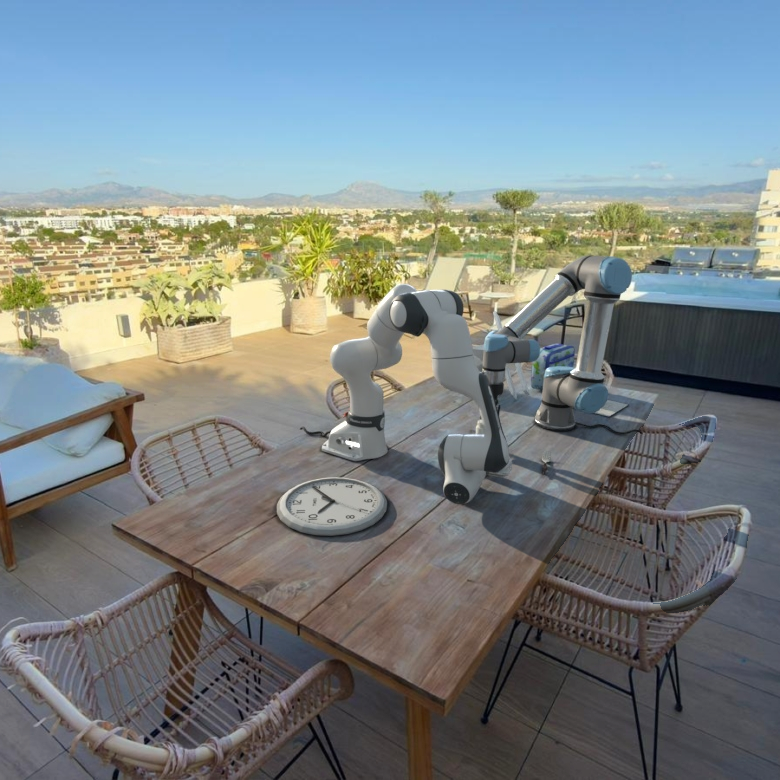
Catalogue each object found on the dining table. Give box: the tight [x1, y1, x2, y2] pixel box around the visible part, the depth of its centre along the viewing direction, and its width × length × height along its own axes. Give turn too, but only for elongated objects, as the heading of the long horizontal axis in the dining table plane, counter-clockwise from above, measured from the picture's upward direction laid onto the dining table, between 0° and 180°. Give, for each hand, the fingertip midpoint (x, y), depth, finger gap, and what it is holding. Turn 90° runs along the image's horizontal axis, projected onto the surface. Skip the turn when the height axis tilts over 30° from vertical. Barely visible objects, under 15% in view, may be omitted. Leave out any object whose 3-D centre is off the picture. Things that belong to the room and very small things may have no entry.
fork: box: [541, 451, 552, 476], centre depth 168 cm, size 3×16×2 cm, turn 160°
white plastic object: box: [472, 310, 531, 400], centre depth 245 cm, size 37×45×31 cm
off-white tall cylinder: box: [475, 419, 485, 434], centre depth 161 cm, size 5×5×17 cm
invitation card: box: [594, 399, 629, 418], centre depth 226 cm, size 21×1×15 cm
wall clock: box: [276, 476, 388, 537], centre depth 142 cm, size 30×2×30 cm
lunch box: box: [530, 343, 576, 391], centre depth 249 cm, size 26×11×21 cm, turn 134°
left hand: (482, 451), depth 163 cm, fingers closed on off-white tall cylinder, 4 cm apart
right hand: (486, 446), depth 180 cm, fingers closed on lid, 5 cm apart
